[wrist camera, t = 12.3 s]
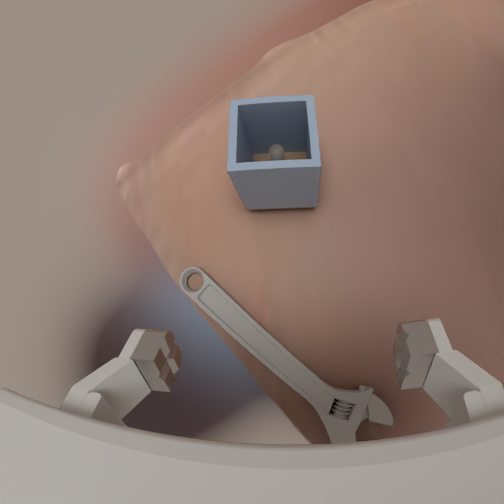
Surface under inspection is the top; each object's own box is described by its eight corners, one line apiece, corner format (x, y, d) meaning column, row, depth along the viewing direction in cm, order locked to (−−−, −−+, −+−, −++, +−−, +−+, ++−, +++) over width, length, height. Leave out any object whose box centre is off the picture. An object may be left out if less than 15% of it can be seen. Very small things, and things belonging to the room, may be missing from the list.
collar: (247, 149, 31) (230, 100, 23) (312, 146, 30) (313, 94, 22) (246, 209, 29) (227, 171, 22) (316, 207, 28) (321, 166, 21)
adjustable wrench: (178, 283, 31) (172, 281, 29) (225, 237, 31) (221, 232, 30) (353, 463, 24) (356, 470, 23) (403, 418, 25) (408, 423, 23)
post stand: (251, 155, 32) (240, 123, 26) (309, 153, 31) (310, 119, 25) (251, 210, 31) (239, 185, 25) (313, 207, 30) (315, 182, 24)
